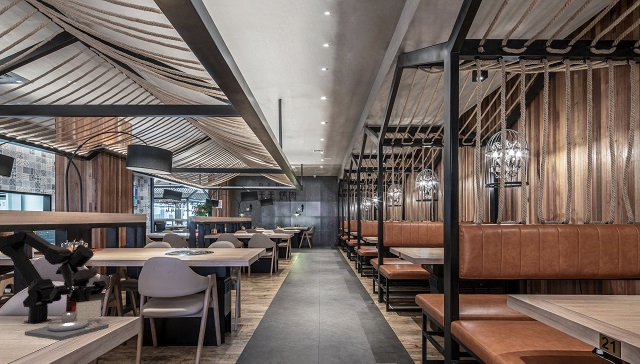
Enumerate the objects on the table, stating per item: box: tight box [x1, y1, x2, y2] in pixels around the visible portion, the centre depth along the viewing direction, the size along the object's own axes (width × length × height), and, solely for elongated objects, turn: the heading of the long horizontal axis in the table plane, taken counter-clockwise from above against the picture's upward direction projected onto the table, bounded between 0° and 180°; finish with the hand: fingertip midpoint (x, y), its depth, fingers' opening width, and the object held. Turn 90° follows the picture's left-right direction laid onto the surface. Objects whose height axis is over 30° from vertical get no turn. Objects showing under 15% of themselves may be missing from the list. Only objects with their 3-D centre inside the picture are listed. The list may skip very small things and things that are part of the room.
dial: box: [47, 299, 102, 331], centre depth 149 cm, size 16×12×8 cm
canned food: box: [65, 295, 76, 318], centre depth 171 cm, size 8×8×11 cm
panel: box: [24, 321, 110, 341], centre depth 147 cm, size 18×18×1 cm
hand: (87, 308), depth 153 cm, fingers closed, pressing on dial
